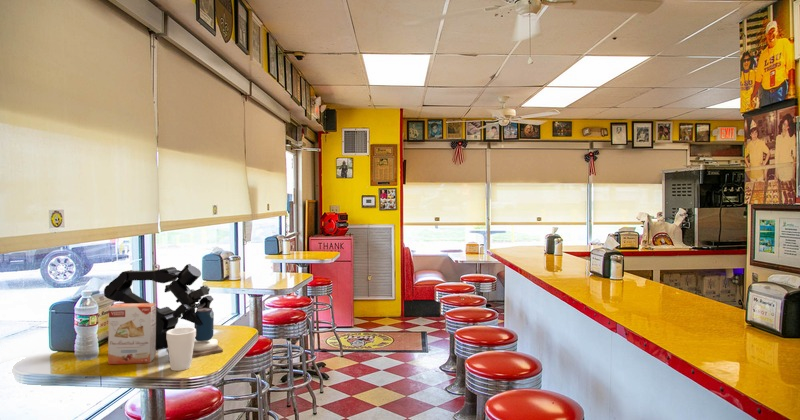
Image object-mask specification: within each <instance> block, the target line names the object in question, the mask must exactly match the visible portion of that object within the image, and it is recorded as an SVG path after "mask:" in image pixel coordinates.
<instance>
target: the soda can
mask: <svg viewBox="0 0 800 420" xmlns="http://www.w3.org/2000/svg"><path fill="white" fill-rule="evenodd" d="M195 313H196V314H197V316H198V317H199V319H200V320H201V322H202V323H203V324H202V325H201V326H199V325H197V324H195V323H194V326H193V328H195V329H196V337H195V340H197V341H208V340H211V339H213V337H214V327H215V326H214V325H215V323H214V311H213V307H210V308H199V309H197V308H196V309H195Z"/></svg>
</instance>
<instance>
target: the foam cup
mask: <svg viewBox="0 0 800 420" xmlns="http://www.w3.org/2000/svg"><path fill="white" fill-rule="evenodd" d="M195 337H196V329H195V328H194V327H190V326H185V327H182V326H181V327H175V329H171V330H169V331H167V333H166V340H167V343H168V347H167V350H168V351H167V352H168V358H169V365H170V370H172V371H175V372H177V371H178V372H179V371H186V370H188V369H190V368H191V365H192V359H193V358H192V354H193V348H194V341H195V340H196V339H195Z"/></svg>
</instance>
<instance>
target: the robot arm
mask: <svg viewBox="0 0 800 420" xmlns="http://www.w3.org/2000/svg"><path fill="white" fill-rule="evenodd" d="M201 275H202V272H201V270H200V269H199V268H197V267H196V266H194V265H192V264H191V263H188V264H186V265H185V266H184V267H183V268H182V269H181V270H179V269H177V267H174V266H170V267H165V268H160V269H155V270H154V269H151V270H132V269H131V270H126V271H122V272H121V273H120V274H119V275H118V276H117V277H116V278H114V279H113V280H112V281H111V282H109V284H106V285H105V287H104V289H103V295H104V297H105V298H106V299H108V300H111V301H113V302H121V303H123V304H131V303H150V302H149V301H148V300H146V299H144V298H142V297H141V296H139V295H137V294H135V293H134V292H133V291H132V288H131V287H132V285H133V282H134V281H152V282H155V283H159V284H166V283H169V284H166V285H165V286H164V287H165V289H164V293H169V292H171V293H172V294H173V296H174V297H175V298H176V300H175V302H176V303H180V305H179V306H178V307H177V308H176V309H175V310H173V309H171V308H170V307H169V306H165V307H161V308H160V307H157V306H156V350H159V349H160V350H161V349H166V348H167V349H168V343H167V340H166V333H167V331H169V330H171V329H175V328H176V326H177V325H178V323H179V319H180V320H185V321H188V322H191V323H192V324H194V325H195V324H197V325H199V326H201V325H202V324H203V323H202V322H201V320H200V319H199V317H198V316H197V314H196V310H197V309H199V308H211V307H210V306H211V304H212V303H213V302H212V301H214V297H212V295H209V294H210V289H211V288H209V287H208V285H207V284H204V285H202V286H199V287H200V288H198V289H190V288H189V286H192V285H193V284H194V283H195V282H196V281H197V280H198V279H199V278H200V277H201Z"/></svg>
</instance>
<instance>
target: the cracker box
mask: <svg viewBox="0 0 800 420" xmlns="http://www.w3.org/2000/svg"><path fill="white" fill-rule="evenodd" d="M156 307H157V303H156V302H149V303H131V304H125V303H115V304H113V305H111V306H109V307H108V344H107V345H108V346H107V351H108V352H107V353H108V354H107V358H108V359H107V364H108V365H124V364H125V365H129V364H150V363H151V362H152V361H154V359H156V350H157V349H156Z"/></svg>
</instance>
